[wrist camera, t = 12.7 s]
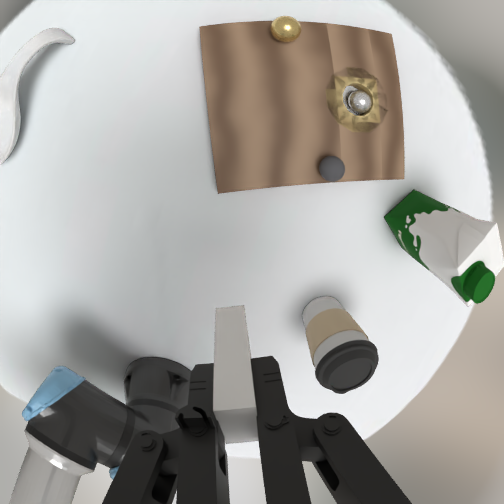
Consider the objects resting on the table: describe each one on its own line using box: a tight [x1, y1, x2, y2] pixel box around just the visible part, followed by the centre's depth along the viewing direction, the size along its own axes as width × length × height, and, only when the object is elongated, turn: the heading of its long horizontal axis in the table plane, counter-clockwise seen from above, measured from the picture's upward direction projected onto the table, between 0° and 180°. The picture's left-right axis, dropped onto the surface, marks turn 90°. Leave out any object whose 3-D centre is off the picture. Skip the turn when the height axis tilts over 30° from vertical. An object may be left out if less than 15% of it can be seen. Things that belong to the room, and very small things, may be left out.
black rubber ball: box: [319, 156, 345, 182], centre depth 32 cm, size 3×3×3 cm
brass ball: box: [270, 16, 301, 42], centre depth 25 cm, size 4×4×4 cm
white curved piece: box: [0, 28, 74, 165], centre depth 24 cm, size 24×12×7 cm, turn 135°
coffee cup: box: [302, 296, 379, 394], centre depth 39 cm, size 9×9×15 cm
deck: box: [200, 21, 404, 194], centre depth 31 cm, size 26×22×2 cm
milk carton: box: [384, 190, 504, 307], centre depth 31 cm, size 9×9×20 cm
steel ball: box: [348, 90, 372, 113], centre depth 31 cm, size 3×3×3 cm
